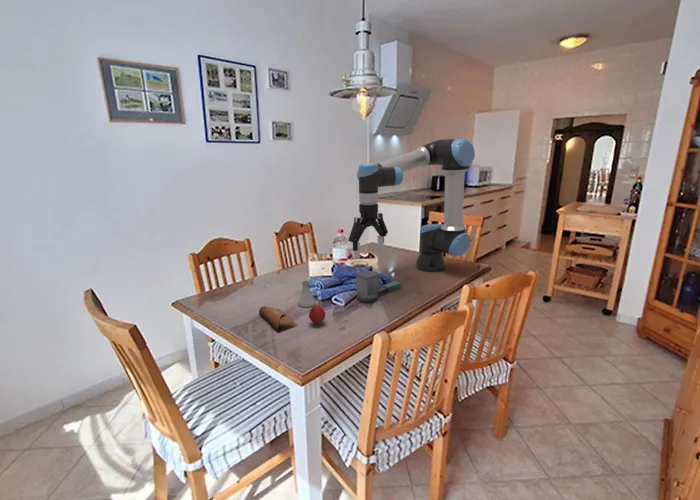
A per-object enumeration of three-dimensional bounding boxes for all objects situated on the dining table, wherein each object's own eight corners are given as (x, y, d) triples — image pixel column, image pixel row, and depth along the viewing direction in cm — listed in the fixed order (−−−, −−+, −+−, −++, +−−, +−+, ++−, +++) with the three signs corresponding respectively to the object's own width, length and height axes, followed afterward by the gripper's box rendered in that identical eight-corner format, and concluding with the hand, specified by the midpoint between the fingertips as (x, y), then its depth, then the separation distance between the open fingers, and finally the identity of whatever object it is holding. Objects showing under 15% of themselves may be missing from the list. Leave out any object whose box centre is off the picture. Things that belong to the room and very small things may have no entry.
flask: (308, 299, 152) (307, 277, 149) (319, 304, 147) (318, 281, 144) (294, 304, 147) (293, 281, 145) (305, 309, 142) (303, 286, 140)
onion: (312, 329, 127) (311, 308, 125) (307, 322, 132) (306, 302, 130) (327, 325, 129) (327, 305, 127) (322, 319, 134) (321, 299, 132)
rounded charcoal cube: (367, 288, 155) (367, 270, 153) (378, 292, 150) (378, 274, 148) (356, 292, 151) (356, 274, 149) (367, 296, 146) (367, 278, 144)
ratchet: (390, 284, 167) (390, 270, 165) (405, 290, 160) (405, 275, 158) (352, 298, 152) (352, 283, 150) (367, 305, 145) (367, 288, 144)
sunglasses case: (300, 325, 129) (290, 313, 126) (285, 339, 127) (275, 328, 123) (279, 308, 143) (269, 297, 140) (265, 321, 141) (255, 310, 137)
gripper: (383, 198, 153) (383, 246, 159) (338, 206, 137) (340, 259, 143) (396, 200, 147) (396, 250, 153) (351, 208, 132) (352, 263, 138)
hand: (369, 254), depth 148 cm, fingers open, 13 cm apart
